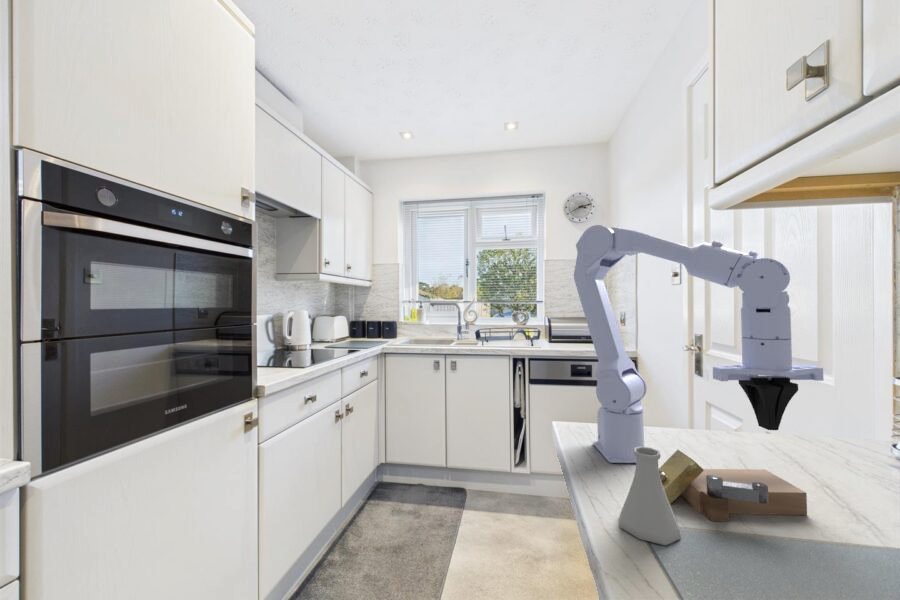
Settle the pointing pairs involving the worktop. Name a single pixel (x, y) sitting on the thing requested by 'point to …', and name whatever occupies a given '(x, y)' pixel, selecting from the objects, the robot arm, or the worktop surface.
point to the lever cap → (678, 474)
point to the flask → (648, 502)
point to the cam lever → (737, 490)
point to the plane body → (780, 499)
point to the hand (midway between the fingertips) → (768, 428)
